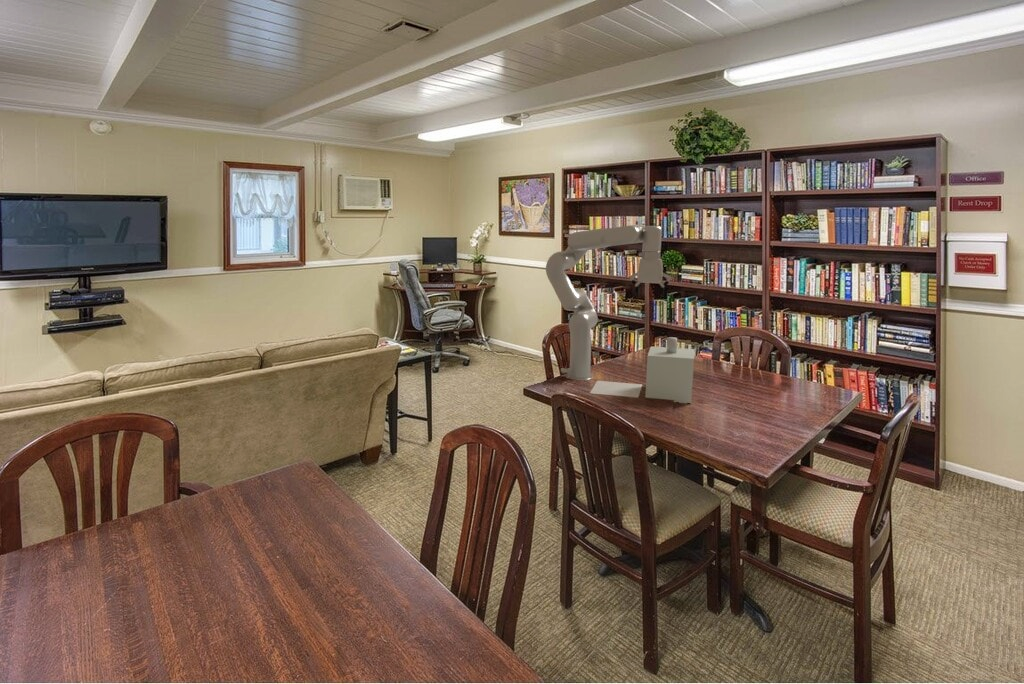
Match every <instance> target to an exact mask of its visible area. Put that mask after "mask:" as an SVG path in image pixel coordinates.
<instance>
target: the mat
mask: <svg viewBox="0 0 1024 684" xmlns="http://www.w3.org/2000/svg"><path fill="white" fill-rule="evenodd" d="M642 387H643V384H641V383H628V382H619V381H618V382H617V381H616V382H615V381H605V380H604V381H603V380H596V382H595V384H594V386H593V387H592V389H591V391H590V392H589V394H593V395H607V396H617V397H627V398H639V396H640V393H641V391H642Z"/></svg>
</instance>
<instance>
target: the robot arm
mask: <svg viewBox="0 0 1024 684" xmlns="http://www.w3.org/2000/svg"><path fill="white" fill-rule="evenodd" d="M662 232H663V228H662V227H661V226H660V225H645V226H644V225H639V224H638V225H636V224H634V225H633V224H632V225H623V226H617V227H615V226H614V227H609V228H608V227H607V228H606V227H605V228H604V227H603V228H595V229H594V228H593V229H589V230H582V231H581V230H580V231H575V232H573V233H571V234H569V236H568V238H567V245H568V246H567V248H566V249H564V250H563V251H557V252H554V253H553V254H552V255H550V257H548V259H547V262H546V264H545V274H546V276H547V277H546V278H547V279H548V280H549V282H550V284H551V286H552V288H553V289H554V293H555V294H556V296H557V298H558V301H559V302H560V304H561V306H562V308H563V309H564V310H565V311H570V312H571V311H573V314H572V315H571V316H570V317H569V322H568V327H569V335H570V336H569V337H570V338H569V339H570V340H569V341H570V342H569V343H570V344H569V347H570V349H569V351H570V352H569V367H568V368H562V367H561V368H560V373H562V374H566V376H565V378H566V379H571V380H575V381H588V380H589V381H590V380H592V379H594V375H593V374H591V366H592V365H591V363H592V360H591V359H592V358H591V357H592V336H591V329H592V328H594V327H596V325H597V323H598V322H599V321H598V319H599V318H598V314H597V312H596V310H595V308H594V305H593V303H592V302H591V300H590V297H589V296H588V295H587V293H586V292H585V291H584V290H583V289H581V288H577V287H574V285H573V283H572V281H571V279H570V277H569V276H568V275H567V274H566V273H565V271H566V270H569V269H570V270H571V269H572V268H574V267H575V266H576V265H577V264H578V263H579V262H580V261H581V260H582V258H583V257H584V256H585V255H586V254H587V252H588V251H589V250H591V251H592V250H598V249H606V248H608V247H613V246H623V245H630V244H631V245H633V244H639V243H642V247H641V249H642V252H638V256H639V257H641V258H640V259H639V262H638V270H637V272H635V273H632V274H631V275H630V276H629V278H628V279H629V280H630V282H631V283H632V284H633V285H634V287H635V290H634V291H635V292H634V294H636V297H639V296H640V284H641V283H643V284H659V285H660V288H659V297H660V298H662V297H663V295H664V294H665V293H664V292H665V287H666V286H667V285H668V284H669V283H670V281H671V280H672V276H670V275H669V274H666V273H665V272H663V271H664V269H663V265H664V264H663V259H662V258H661V253H662V252H661V250H662V234H663V233H662ZM635 277H637V281H636V280H635ZM663 277H664V278H666V280H665V282H663Z"/></svg>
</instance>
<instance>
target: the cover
mask: <svg viewBox="0 0 1024 684" xmlns="http://www.w3.org/2000/svg"><path fill="white" fill-rule="evenodd" d="M666 338H667V339H666V347H663V346H650V348H649V350H648V354H647V359H646V378H645V380H646V381H645V398H647V399H658V400H669V401H673V403H676V402H679V403H678V404H687V403H690V404H689V405H691V404H692V399H693V398H692V395H693V382H694V369H695V368H694V365H695V349H694V348H684V347H683V348H680V347H679V348H678V337H673V336H669V337H666Z"/></svg>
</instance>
